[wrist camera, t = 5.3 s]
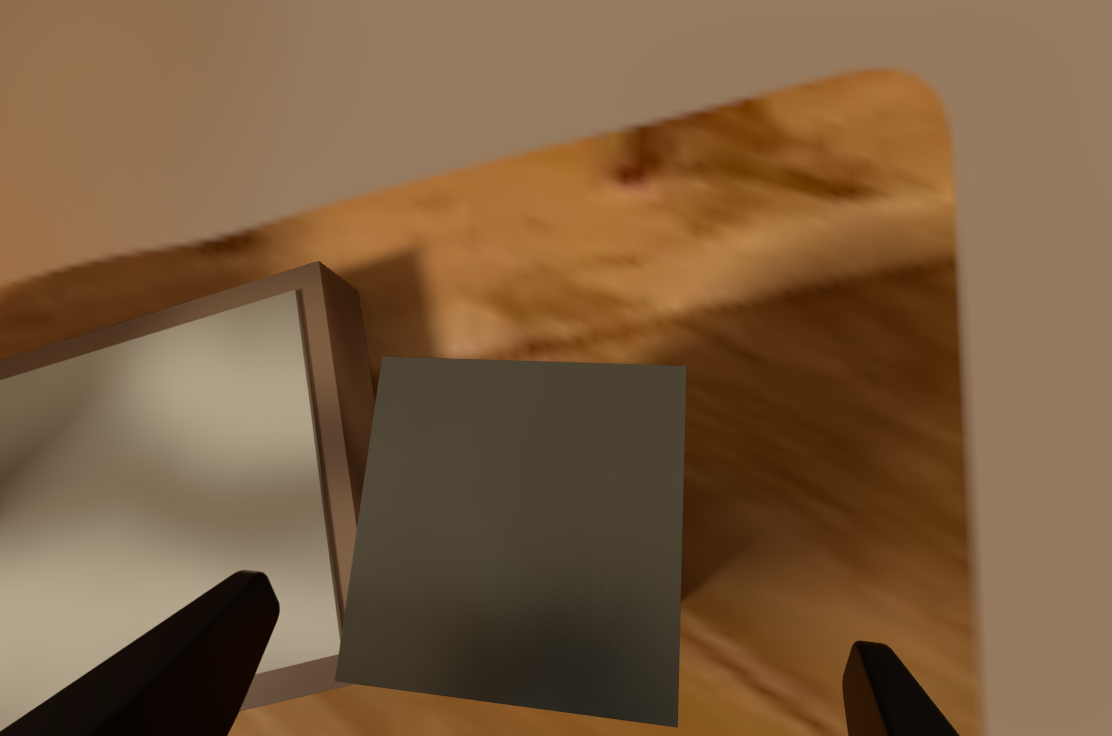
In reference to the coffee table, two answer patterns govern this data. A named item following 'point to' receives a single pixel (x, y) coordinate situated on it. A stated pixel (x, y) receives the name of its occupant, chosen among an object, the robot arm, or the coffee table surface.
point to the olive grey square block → (522, 536)
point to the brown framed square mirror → (184, 480)
